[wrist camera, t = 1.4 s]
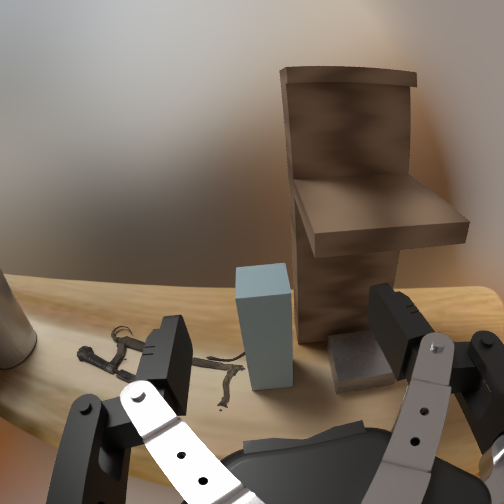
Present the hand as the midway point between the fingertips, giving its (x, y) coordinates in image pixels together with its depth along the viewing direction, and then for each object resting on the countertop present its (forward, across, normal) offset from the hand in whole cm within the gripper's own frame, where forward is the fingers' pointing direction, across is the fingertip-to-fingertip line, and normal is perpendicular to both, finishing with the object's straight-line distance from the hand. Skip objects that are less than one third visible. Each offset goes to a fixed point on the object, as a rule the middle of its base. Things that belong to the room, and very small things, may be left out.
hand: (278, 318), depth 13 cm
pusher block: (+11, +1, +16) cm, 20 cm away
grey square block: (+10, -8, +17) cm, 21 cm away
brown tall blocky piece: (+12, -7, +17) cm, 22 cm away
